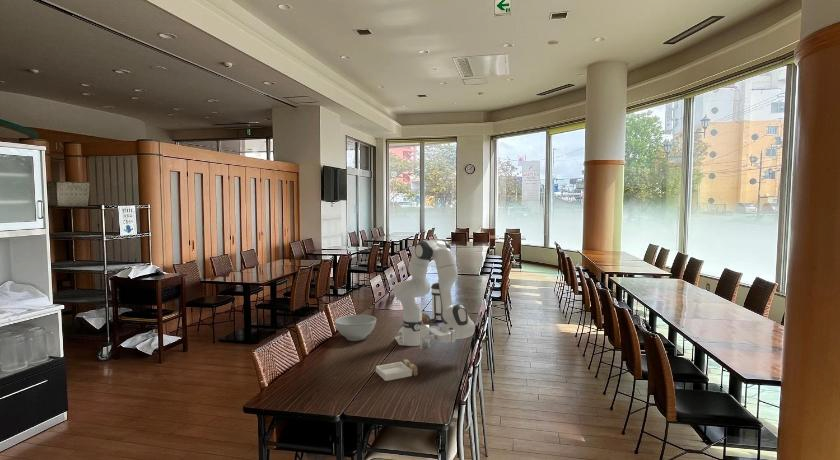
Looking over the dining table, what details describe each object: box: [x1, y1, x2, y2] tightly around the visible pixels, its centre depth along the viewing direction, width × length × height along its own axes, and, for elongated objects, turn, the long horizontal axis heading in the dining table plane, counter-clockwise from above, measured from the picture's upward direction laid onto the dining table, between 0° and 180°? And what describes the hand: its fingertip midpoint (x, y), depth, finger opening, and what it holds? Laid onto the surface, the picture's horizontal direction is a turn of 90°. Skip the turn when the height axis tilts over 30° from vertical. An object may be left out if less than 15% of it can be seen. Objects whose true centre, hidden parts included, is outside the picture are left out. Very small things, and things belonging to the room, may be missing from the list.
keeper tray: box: [375, 361, 413, 382], centre depth 233 cm, size 14×14×3 cm
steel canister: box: [419, 324, 431, 351], centre depth 239 cm, size 5×5×12 cm
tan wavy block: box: [402, 358, 419, 376], centre depth 236 cm, size 14×2×4 cm, turn 25°
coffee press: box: [430, 279, 442, 323], centre depth 336 cm, size 17×16×30 cm
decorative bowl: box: [334, 314, 377, 342], centre depth 298 cm, size 27×27×12 cm
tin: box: [422, 313, 431, 325], centre depth 324 cm, size 15×3×8 cm, turn 105°
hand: (423, 336), depth 239 cm, fingers closed on steel canister, 5 cm apart
